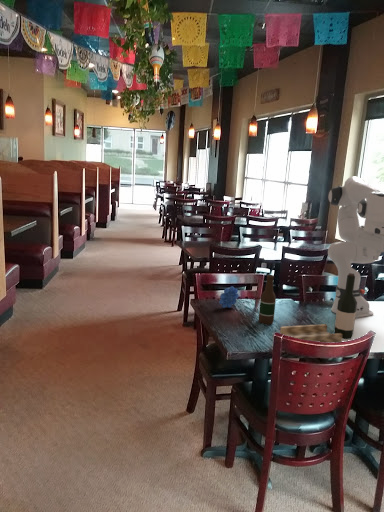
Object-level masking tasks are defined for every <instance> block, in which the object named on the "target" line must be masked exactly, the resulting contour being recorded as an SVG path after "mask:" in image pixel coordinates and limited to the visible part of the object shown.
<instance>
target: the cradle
mask: <svg viewBox="0 0 384 512" xmlns="http://www.w3.org/2000/svg"><path fill="white" fill-rule="evenodd" d="M279 329H280V332H279V334H280V333H281V334H284V335H287V336H291V337H294V338H298V339H304V340H311V341H320V342H335V343H342V342H343V339H342V335H343V334H341V333H336V334H334V333H331V332H329V331H328V324H326V323H323V324H321V323H320V324H319V323H318V324H304V325H303V324H302V325H290V326H289V325H287V326H280V328H279ZM281 334H280V335H281ZM341 341H342V342H341Z"/></svg>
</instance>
